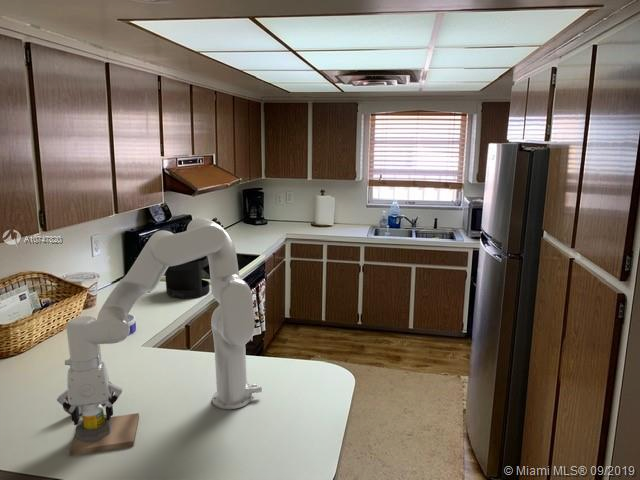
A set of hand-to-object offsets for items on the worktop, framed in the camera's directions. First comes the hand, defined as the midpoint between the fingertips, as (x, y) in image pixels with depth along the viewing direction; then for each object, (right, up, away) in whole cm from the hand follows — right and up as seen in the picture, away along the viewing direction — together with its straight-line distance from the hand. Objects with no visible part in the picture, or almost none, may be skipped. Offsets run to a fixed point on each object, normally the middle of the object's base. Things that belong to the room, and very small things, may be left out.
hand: (93, 419), depth 133 cm
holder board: (+3, -5, +2) cm, 6 cm away
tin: (-8, -3, +15) cm, 17 cm away
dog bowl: (-25, +10, +75) cm, 79 cm away
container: (-9, +21, +128) cm, 130 cm away
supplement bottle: (0, -4, +1) cm, 4 cm away
